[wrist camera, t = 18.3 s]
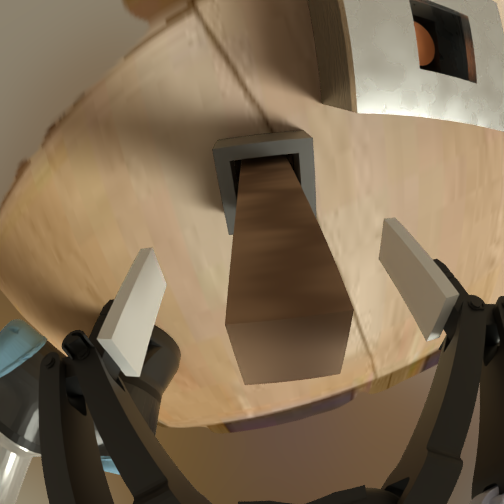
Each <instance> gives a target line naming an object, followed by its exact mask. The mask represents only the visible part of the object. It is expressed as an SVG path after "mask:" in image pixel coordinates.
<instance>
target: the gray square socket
mask: <svg viewBox="0 0 504 504" xmlns="http://www.w3.org/2000/svg"><path fill="white" fill-rule="evenodd" d="M212 151H213V156H214V161H215V166H216V172H217V177H218V182H219V187H220V193H221V198H222V203H223V208H224V213H225V218H226V223H227V228H228V233H229V235H233V234H234V224H235V215H236V205H237V196H238V181H237V175H236V169H235V162H234V160H240V159H247V158H255V157H264V156H273V155H282V154H293V161H294V173H295V175H296V177H297V179H298V181H299V183H300V185H301V187H302V189H303V191H304V194H305V196H306V198H307V200H308V202H309V204H310V206H311V208H312V211H313V213H314V215H315V217H316V189H315V168H314V151H313V138H312V137H311V136H310V135H309V134H307V133H306V132H305V131H304V130H301V131H288V132H277V133H268V134H259V135H251V136H243V137H236V138H229V139H223V140H218V141H217V142H216V144H215V146H214V147H213V149H212Z"/></svg>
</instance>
